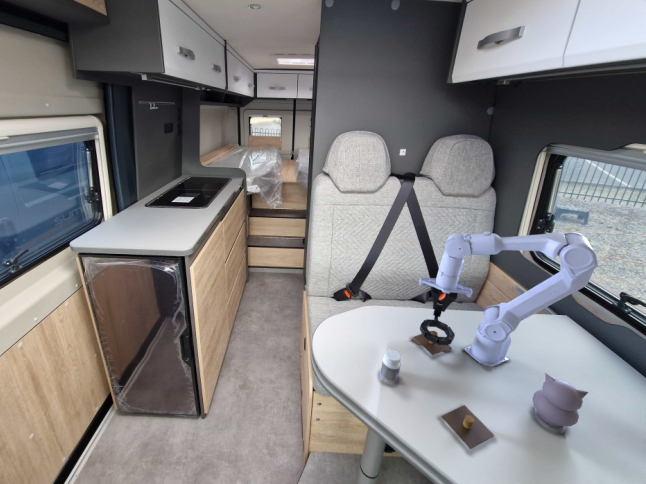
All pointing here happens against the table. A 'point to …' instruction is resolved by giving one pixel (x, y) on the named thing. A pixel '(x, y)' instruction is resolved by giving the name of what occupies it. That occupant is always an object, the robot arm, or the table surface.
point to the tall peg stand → (431, 344)
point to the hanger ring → (438, 324)
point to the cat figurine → (558, 403)
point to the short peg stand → (467, 426)
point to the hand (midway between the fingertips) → (438, 308)
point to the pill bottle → (390, 366)
